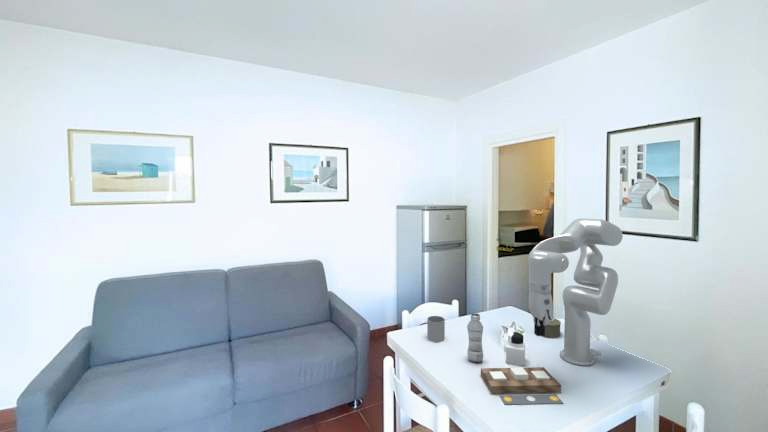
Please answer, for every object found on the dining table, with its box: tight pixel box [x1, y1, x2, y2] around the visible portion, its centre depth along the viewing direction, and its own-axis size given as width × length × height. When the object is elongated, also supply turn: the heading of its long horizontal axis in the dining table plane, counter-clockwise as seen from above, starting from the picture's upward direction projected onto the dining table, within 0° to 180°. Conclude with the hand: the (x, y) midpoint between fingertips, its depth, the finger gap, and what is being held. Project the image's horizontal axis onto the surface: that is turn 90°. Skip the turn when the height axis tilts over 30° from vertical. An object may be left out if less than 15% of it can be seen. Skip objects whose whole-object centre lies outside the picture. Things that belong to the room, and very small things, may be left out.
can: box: [541, 317, 562, 339], centre depth 164 cm, size 12×12×7 cm
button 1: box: [489, 371, 507, 381], centre depth 119 cm, size 5×5×3 cm
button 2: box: [531, 371, 550, 380], centre depth 120 cm, size 5×5×3 cm
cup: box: [426, 315, 446, 343], centre depth 159 cm, size 8×8×10 cm
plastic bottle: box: [466, 312, 484, 363], centre depth 137 cm, size 6×7×20 cm
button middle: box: [509, 367, 528, 380], centre depth 119 cm, size 5×5×3 cm
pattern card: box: [498, 393, 564, 406], centre depth 110 cm, size 20×5×1 cm, turn 91°
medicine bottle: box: [505, 331, 526, 367], centre depth 136 cm, size 7×7×12 cm
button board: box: [480, 366, 562, 395], centre depth 120 cm, size 25×12×3 cm, turn 91°
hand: (539, 334), depth 121 cm, fingers closed
